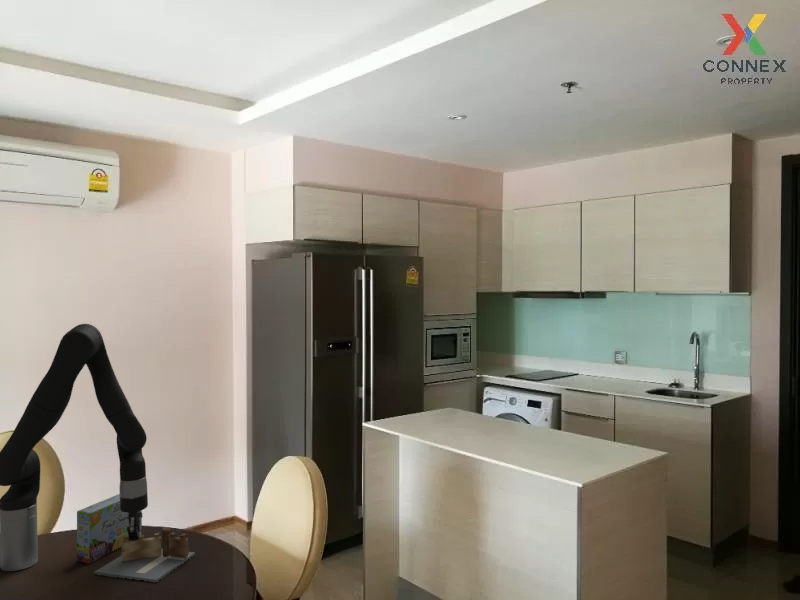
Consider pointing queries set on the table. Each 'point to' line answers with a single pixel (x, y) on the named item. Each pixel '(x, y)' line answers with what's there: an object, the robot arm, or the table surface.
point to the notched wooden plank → (174, 544)
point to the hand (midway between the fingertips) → (135, 550)
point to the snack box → (100, 529)
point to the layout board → (143, 567)
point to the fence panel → (141, 548)
